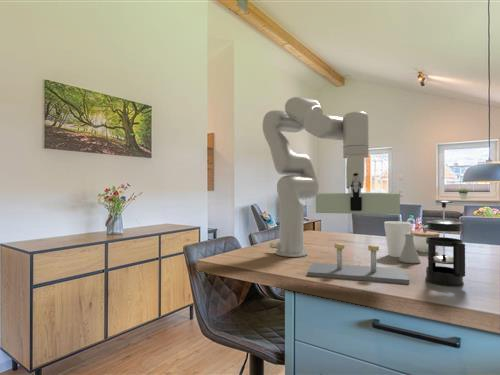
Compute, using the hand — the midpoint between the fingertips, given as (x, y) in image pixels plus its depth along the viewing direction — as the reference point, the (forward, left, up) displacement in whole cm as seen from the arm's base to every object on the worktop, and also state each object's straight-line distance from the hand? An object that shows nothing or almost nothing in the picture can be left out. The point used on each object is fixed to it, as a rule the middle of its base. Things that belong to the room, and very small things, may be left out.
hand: (356, 209), depth 102 cm
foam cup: (+15, +33, -20) cm, 42 cm away
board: (0, -1, -20) cm, 20 cm away
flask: (+18, +23, -20) cm, 36 cm away
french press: (+24, -2, -20) cm, 31 cm away
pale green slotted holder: (0, 0, -1) cm, 1 cm away
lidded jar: (+27, +47, -20) cm, 58 cm away
